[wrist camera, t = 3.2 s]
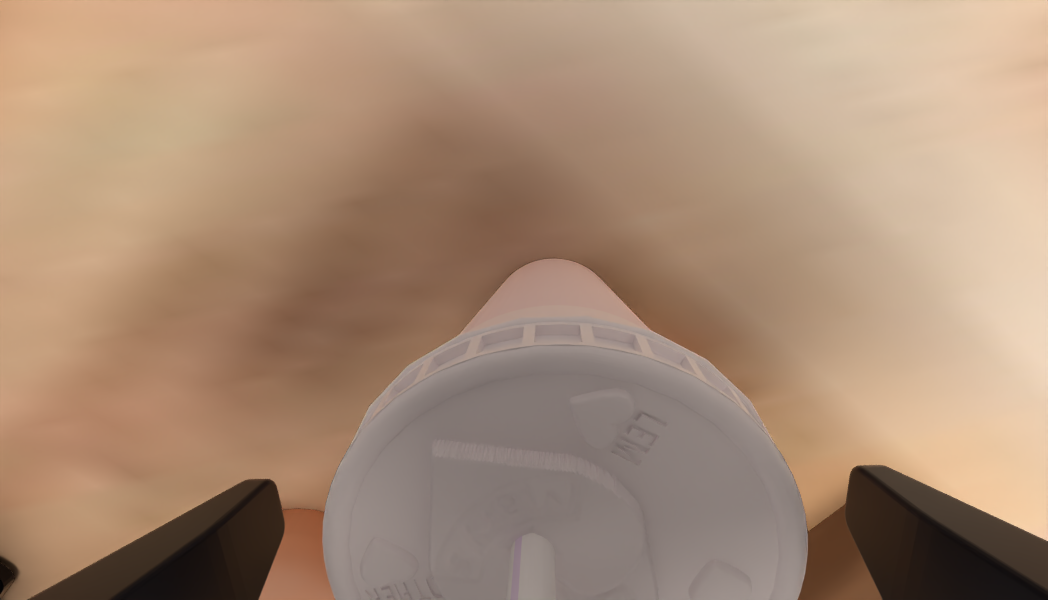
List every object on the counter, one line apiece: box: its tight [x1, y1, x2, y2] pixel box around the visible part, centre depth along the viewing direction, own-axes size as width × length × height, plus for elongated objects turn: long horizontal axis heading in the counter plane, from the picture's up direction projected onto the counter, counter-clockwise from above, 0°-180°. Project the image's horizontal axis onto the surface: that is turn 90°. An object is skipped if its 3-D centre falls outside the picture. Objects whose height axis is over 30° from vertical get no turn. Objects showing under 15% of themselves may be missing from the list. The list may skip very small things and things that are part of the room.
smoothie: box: [322, 258, 808, 600], centre depth 9 cm, size 6×6×14 cm
